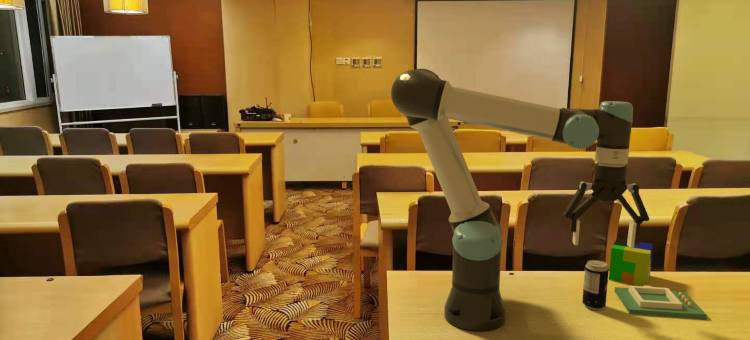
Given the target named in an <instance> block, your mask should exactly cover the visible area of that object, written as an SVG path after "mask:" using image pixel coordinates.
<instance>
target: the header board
mask: <svg viewBox="0 0 750 340" xmlns="http://www.w3.org/2000/svg"><path fill="white" fill-rule="evenodd" d="M614 293H615V294H616V295H617V297H618V299H619V300H620V302H621V303H622V305H623V306H624V308H625V310H626V311H627V312H628V314H629V315H640V316H641V315H642V316H658V317H669V318H670V317H672V318H685V319H686V318H687V319H698V320H699V319H702V320H707V315H708V314H707V313H706V312H705V311H704V310H703V309H702V308H701V307H700V306H699V305H698V304H697V303H696V302H695V301H694V300H693V299H692V298H691V296H690V295H689V294H688V293H687V292H685V291H684V290H671V289H669V288H668V287H660V286H659V287H657V286H656V287H655V286H652V285H647V286H638V285H628V287H621V286H620V287H617V286H615V287H614Z"/></svg>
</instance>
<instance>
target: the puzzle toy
mask: <svg viewBox="0 0 750 340" xmlns="http://www.w3.org/2000/svg"><path fill="white" fill-rule="evenodd" d="M627 241H628V239H623V238H616V239H615V241H614V242H613V244H612V245H611V249H610V260H609V273H608V281H612V282H617V283H622V284H629V285H632V286H642V287H643V286H648V282H649V280H650V277H651V269H652V258H653V248H654V244H653V243H649V242H643V241H642V242H641V241H635V242H634V248H630V247H629V246H628V245H627Z"/></svg>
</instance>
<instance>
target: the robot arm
mask: <svg viewBox="0 0 750 340" xmlns="http://www.w3.org/2000/svg"><path fill="white" fill-rule="evenodd" d="M390 97H391V101H392V103H393V106H394V107H395V108H396V110H397V111H398V112H400V113H401V114H403V115H404V116H405V117H406V120H407V122H408V125H409V128H412V129H414V130H416V131H417V132H418V134H419V136H420V140H421V142H422V144H423V146H424V148H425V151H426V153H427V156H428V159H429V161H430V163H431V165H432V168H433V171H434V173H435V175H436V178H437V180H438V182H439V185H440V188H441V190H442V193H443V194H444V197H445V200H446V202H447V204H448V207H449V210H450V215H449V217H448V222H449V224H450V227H451V229H452V232H453V236H452V271H451V273H452V277H451V288H450V291H449V294H448V295H447V299H446V301H445V304H444V311H443V312H444V313H443V315H444V319H445V320H446V321H447V322H448V323H449V324H451V325H452V326H455V327H457V328H460V329H462V330H465V331H466V330H467V331H472V332H473V331H474V332H487V331H492V330H496V329H498V328H500V327H502V326H503V325H504V324H505V322H506V314H507V313H506V308H505V304H504V300H503V298H502V294H501V291H500V285H501V284H500V283H501V282H500V281H501V263H502V261H501V260H502V259H501V258H502V248H503V232H502V227H501V224H500V222H499V221H498V220H497V219H496V217H495V216H494V214H493V211H492V208H491V206H490V204H489V203H487V202H485V201H483V200H482V199H481V197H480V194H479V192H478V189H477V187H476V184H475V182H474V179H473V177H472V174H471V171H470V169H469V167H468V164H467V162H466V159H465V157H464V154H463V152H462V149H461V146H460V145H459V142H458V140H457V137H456V134H455V133H454V130H453V127H452V124H451V122H450V120H454V121H457V122H463V123H468V124H473V125H476V126H477V125H478V126H480V127H481V126H483V127H486V128H491V129H494V130H495V129H496V130H501V131H504V132H505V131H506V132H510V133H514V134H519V135H524V136H528V137H529V136H530V137H533V138H537V139H543V140H546V141H552V142H555V143H560V144H565V145H568V146H569V147H571V148H573V149H581V150H582V149H586V148H590V147H591V146H593V144H595V143H596V148H595V155H594V161H595V162H596V163H595V164H594V166H593V175H592V176H593V177H592V182H585V181H584V180H580V181H579V183H578V187H577V188H578V189H577V191H575V193H574V195H573V196H572V198H571V199H570V201H569V202H568V204H567V205H566V207H565V209H564V211H563V215H564V217H566V218H568V219H570V222H569V230H570V232H571V233H572V242H571V243H573V245H574V246H579V238H580V228H581V227H580V225H581V220H580V219H579V218H580V217H581V216H583V214H585V213H586V212H587V211H588V210H589V209H590V208H591V207H592V206H593V205H594V204H596V203H597V202H598V201H599V200H600V201H601V202H607V201H610V202H616V201H619V203H620V205H621V206H622V207H623V209H624V210H625V211H626V213H628V214H629V217H631V219H633V220H629V225H628V233H627V240H628V241H627V245H628V246H629V247H630V248H634V242H635V240H636V236H639V235H640V231H641V230H640V229H641V225H642V224H643V222H648V221H650V217H649V214H648V211H647V209H646V208H645V205H644V203H643V199H642V198H641V195H640V186H639V185H638V184H637V183H635V182H631V183H630V184H629V183H628V184H627V182H626V181H627V175H628V174H627V172H628V167H627V164H628V162H629V153H630V142H631V137H632V136H631V135H632V127H633V122H634V121H633V120H634V119H633V117H634V116H633V114H634V113H633V112H634V106H633V104H632V103H630V102H628V101H618V100H616V101H614V100H612V101H611V100H610V101H609V100H608V101H607V100H604V101H602V102H600V105H599V107H598V108H596V109H595V108H594V109H588V108H587V109H586V108H567V107H559V108H558V107H553V106H548V105H544V104H539V103H534V102H529V101H524V100H520V99H515V98H511V97H509V98H508V97H505V96H499V95H496V94H495V95H494V94H490V93H485V92H481V91H477V90H472V89H466V88H463V87H462V88H461V87H455V86H453V85H452V84H451V83H450V82H449V81H448V80H445V79H441V78H440V77H439V75H438V74H436V73H435V72H434V71H432V70H429V69H426V68H416V69H409V70H406V71H404V72H402V73H400V74H399V75H397V77H396V78H395V80H394V81H393V83H392V85H391V89H390ZM589 189H591V190H592V192H591V193H590V194H589V195H588V197H587V198H586V199H584V201H583V202H582V203H581V200H582V198H583V197H584V195H585V194H586V192H588V191H589ZM627 190H628V191H627ZM626 191H627V192H628V193H630V195H631V197H632V200H633V201H634V204H635V206H636V209H637V211H638V213H639V215H638V213H636V211H635V210H634V209H633V207H632V206H631V205H630V203H629V202H628V201H627V199H626V198H625V196H624V193H626ZM579 203H581V204H579ZM578 205H579V206H578Z"/></svg>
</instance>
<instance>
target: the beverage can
mask: <svg viewBox="0 0 750 340" xmlns="http://www.w3.org/2000/svg"><path fill="white" fill-rule="evenodd" d="M609 270H610V268H609V267H608V263H607V262H605V261H603V260H598V259H590V260H587V261H586V264H585V265H584V275H583V276H584V277H583V288H582V289H583V291H582V304H583V305H584V306H585V308H587V309H589V310H593V311H600V310H602V309H603V308H606V304H607V292H608V285H609V284H608V283H609Z"/></svg>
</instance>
